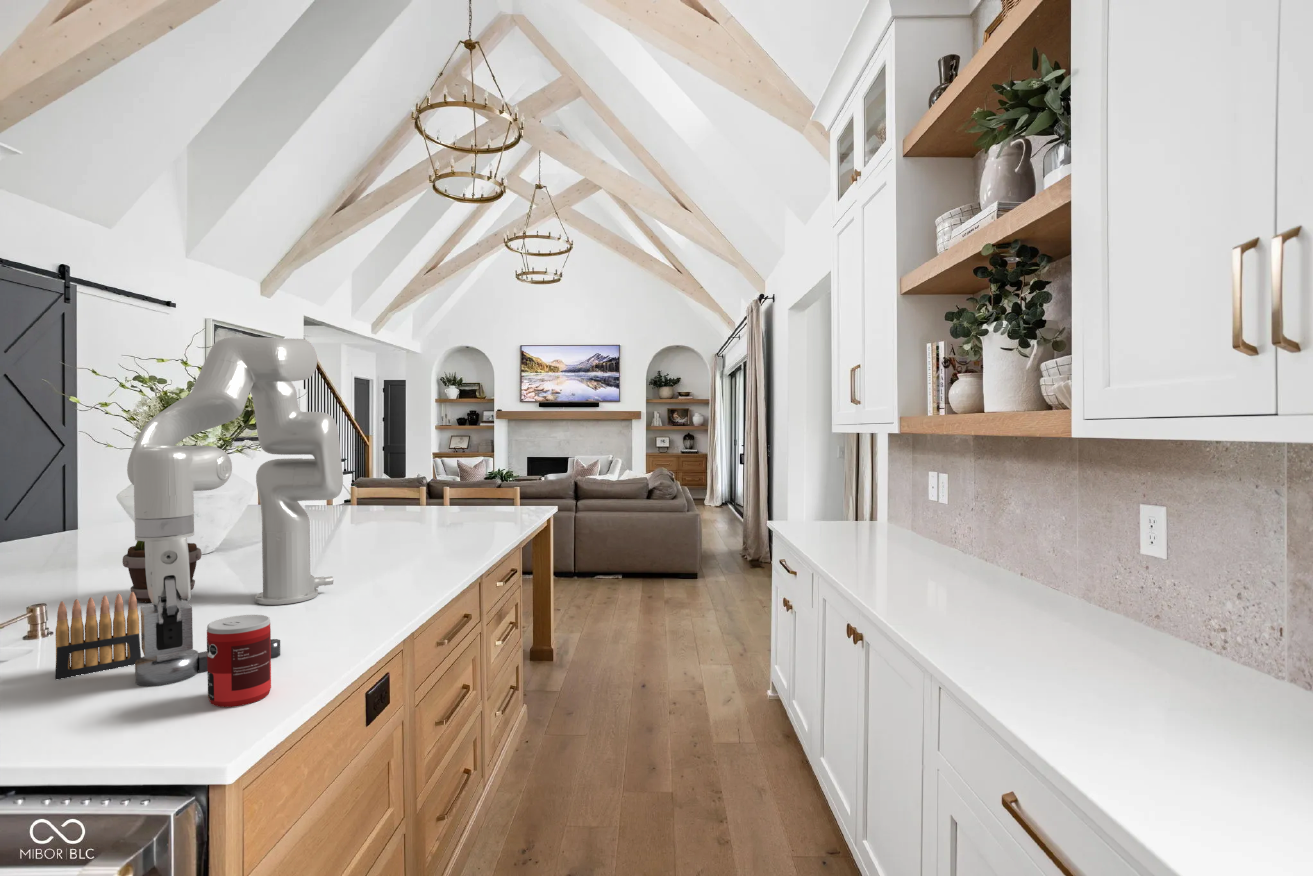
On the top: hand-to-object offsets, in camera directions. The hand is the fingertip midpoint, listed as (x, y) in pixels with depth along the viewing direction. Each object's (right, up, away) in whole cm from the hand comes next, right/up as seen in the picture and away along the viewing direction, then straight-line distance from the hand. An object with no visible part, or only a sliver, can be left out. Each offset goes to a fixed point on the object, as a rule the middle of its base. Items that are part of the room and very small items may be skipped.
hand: (167, 641), depth 107 cm
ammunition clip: (-13, -6, +3) cm, 15 cm away
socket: (0, -1, 0) cm, 1 cm away
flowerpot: (-36, -5, +49) cm, 61 cm away
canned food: (+16, -6, -8) cm, 19 cm away
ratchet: (+4, -5, +4) cm, 8 cm away
